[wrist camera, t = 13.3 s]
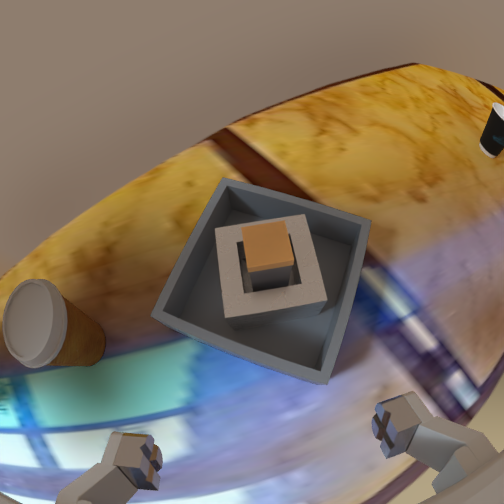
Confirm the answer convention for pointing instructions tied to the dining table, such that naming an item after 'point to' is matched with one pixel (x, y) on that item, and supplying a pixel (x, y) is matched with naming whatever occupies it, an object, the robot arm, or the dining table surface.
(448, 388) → the dining table surface
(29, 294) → the disposable coffee cup
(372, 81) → the dining table surface
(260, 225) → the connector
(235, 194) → the walled box
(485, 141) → the dixie cup
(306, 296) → the inlet socket
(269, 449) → the dining table surface
